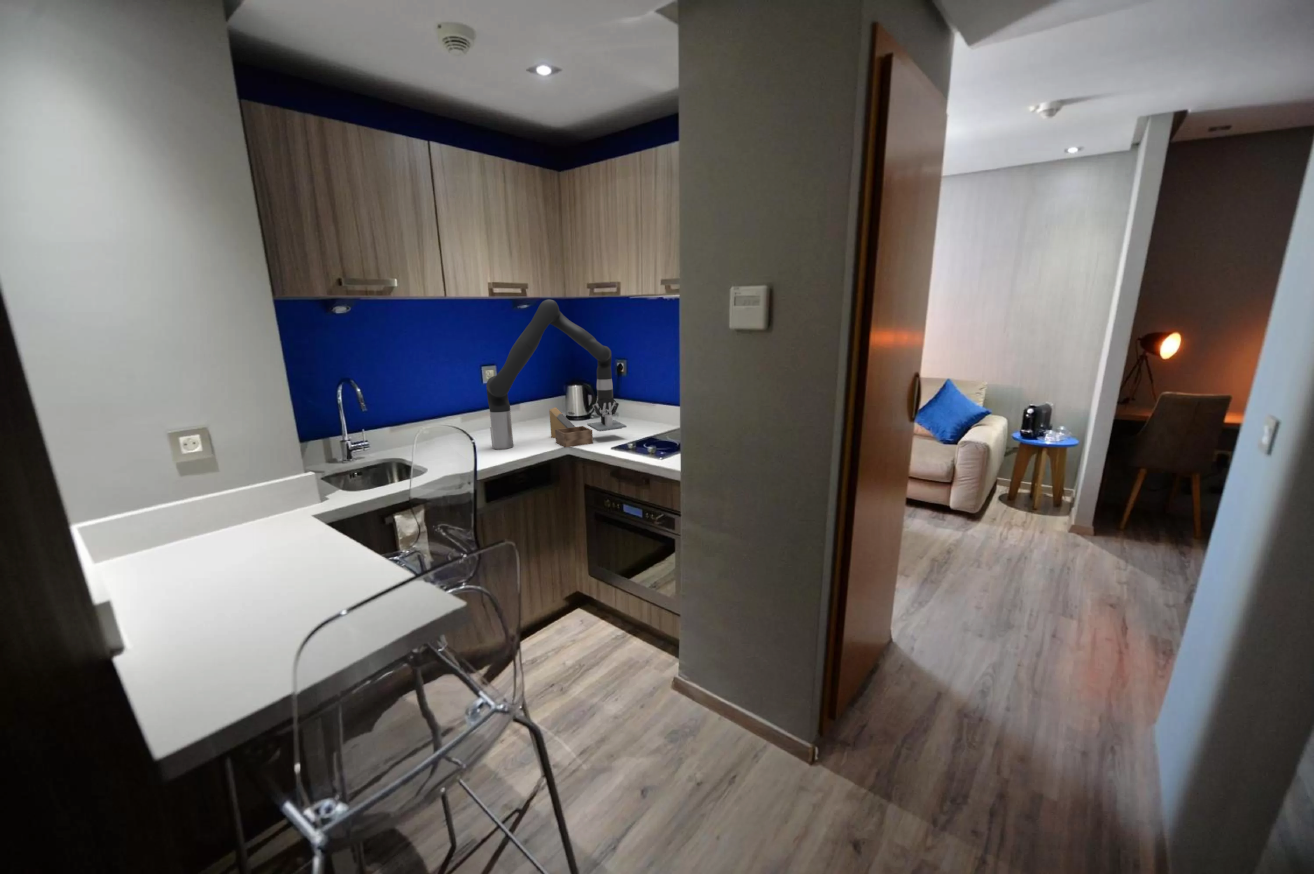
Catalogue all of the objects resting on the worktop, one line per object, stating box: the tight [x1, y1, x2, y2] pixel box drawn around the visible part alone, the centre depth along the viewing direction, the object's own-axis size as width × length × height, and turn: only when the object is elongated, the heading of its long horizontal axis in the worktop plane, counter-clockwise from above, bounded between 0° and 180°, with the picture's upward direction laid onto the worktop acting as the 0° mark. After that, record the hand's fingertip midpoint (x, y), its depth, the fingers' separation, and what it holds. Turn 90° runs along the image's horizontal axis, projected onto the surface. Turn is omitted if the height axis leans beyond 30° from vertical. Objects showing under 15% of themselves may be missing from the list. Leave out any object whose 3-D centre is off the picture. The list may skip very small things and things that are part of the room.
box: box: [555, 425, 594, 448], centre depth 248 cm, size 14×12×7 cm
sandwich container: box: [549, 406, 576, 439], centre depth 262 cm, size 9×15×15 cm, turn 80°
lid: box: [586, 412, 627, 432], centre depth 254 cm, size 15×13×7 cm
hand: (606, 423), depth 255 cm, fingers closed on lid, 2 cm apart
